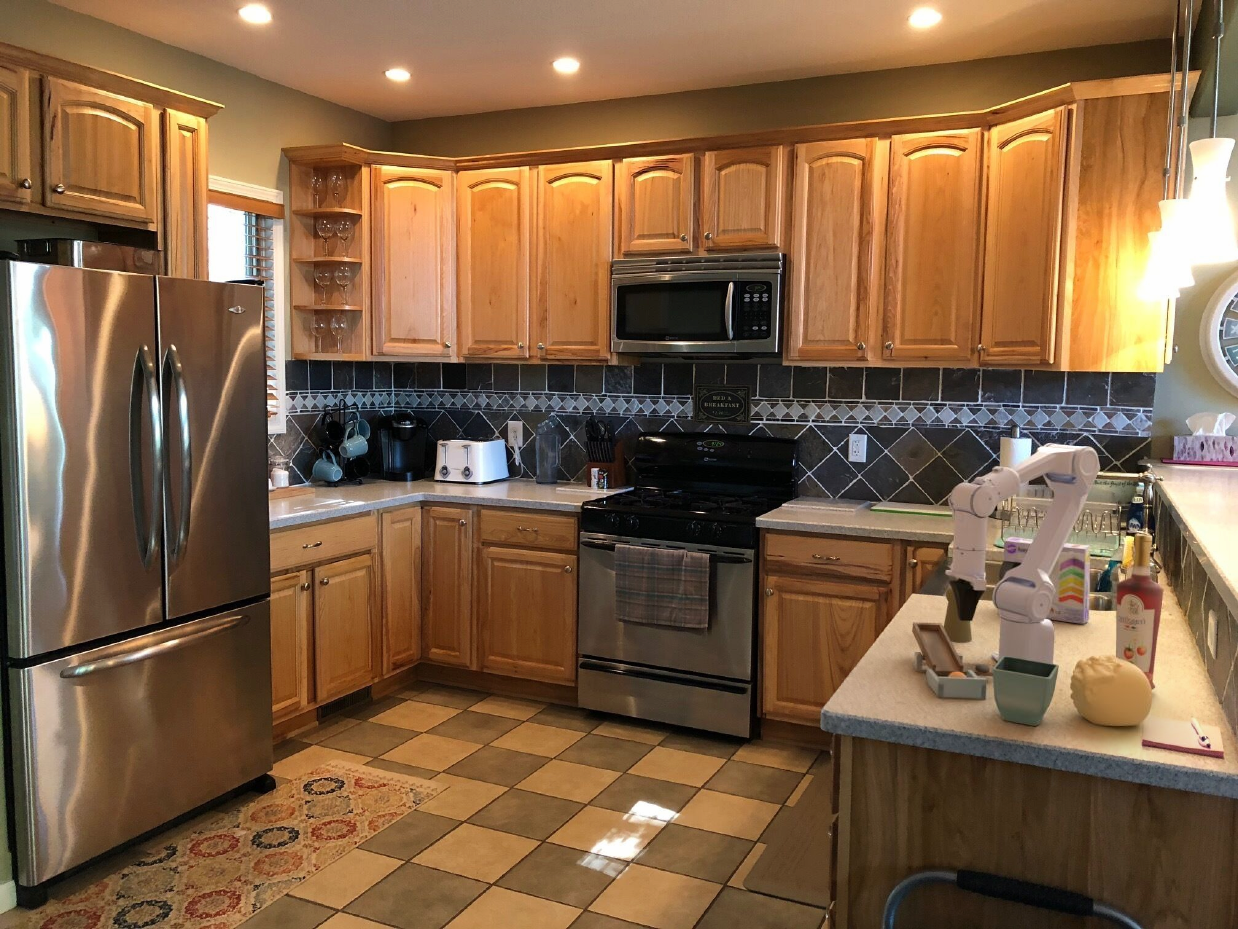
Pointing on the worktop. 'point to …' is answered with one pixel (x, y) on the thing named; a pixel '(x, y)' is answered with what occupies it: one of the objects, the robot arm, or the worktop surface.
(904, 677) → the worktop surface
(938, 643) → the lever
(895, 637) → the worktop surface
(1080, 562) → the cake pan box
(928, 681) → the dish
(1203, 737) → the worktop surface
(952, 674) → the ball
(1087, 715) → the sculpture
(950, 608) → the olive green pepper shaker
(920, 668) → the fulcrum
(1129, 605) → the liquor
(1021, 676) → the flower pot
